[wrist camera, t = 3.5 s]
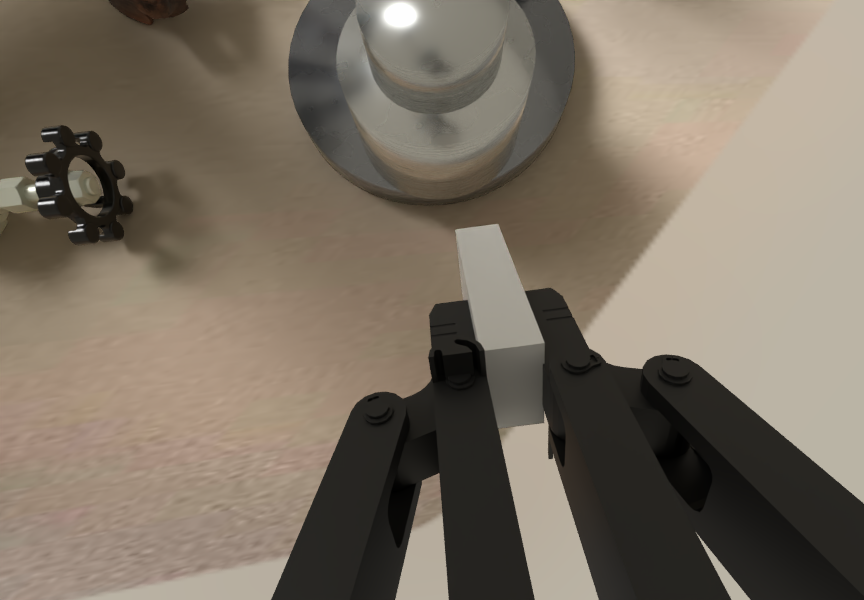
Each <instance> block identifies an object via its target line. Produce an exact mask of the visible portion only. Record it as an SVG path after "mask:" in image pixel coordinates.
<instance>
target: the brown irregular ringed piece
mask: <svg viewBox="0 0 864 600" xmlns="http://www.w3.org/2000/svg"><path fill="white" fill-rule="evenodd" d="M109 2H110V3H111V4H112V5H113V6H114V7H115V8H116V9H118V10H119V11H120V12H121V13H123V14H124V15H126V16H127V17H130V18H132V19H135V20H137V21H139V22H142V23H145V24H148V25H151V24H152V23H153V19H152V18H154V19H159V18H163V19H164V18H170V17H174V16H177V15H179V14H181V13H183V12H185V11H186V10H187V9H188V5H187V4H186V0H109Z"/></svg>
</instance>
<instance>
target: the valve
mask: <svg viewBox="0 0 864 600" xmlns="http://www.w3.org/2000/svg"><path fill="white" fill-rule="evenodd" d="M41 137H42V140H43V142H51V141H52V142H53V143H54V144H55V146H56V148H53V149H51V150H50V151H48V152H43V153H35V154H29V155H27V157H26V159H25V164H26V167H27V169H28V171H29V172H30V173H31V174H32V175H34V176H38V177H37V179H36V181H33V180H31V179H29V178H26V177H24V176H23V177H15V178H6V179H1V180H0V235H1V233H2V232H3V230H4V228H5V227H6V225H7V223H8V221H7V219H6V218H7V216H8V213H9V211H10V212H13V213H24V212H32V211H37V210H39V212H40V214H41V215H42V216H43V217H45V218H47V219H57V218H65V217H69V218H70V219H71V220H72V221H74V222H75V223H77V229H76V230H75V231H68V236H69V239H70V240H71V242H72V243H73V244H75V245H87V244H95V243H97V242H98V241H99V240H100V241H102V242H109V241H118V240H121V239H122V238H123V236H124V230H123V227H122V225H121V224H120V223H119V222H117V220H116V216H118V215H127V214H131V213H132V212H133V203H132V201H131V199H130V198H129V197H127V196H122V195H121V194H120V193H119V190H118V186H117V180H119V179H123V178H124V176H125V170H124V167H123V165H122V164H121V163H120V162H119V161H117V160H112V161H104V160H103V158H102V157H101V155H100V150H101V149H102V141H101V138H100V137H99V135H98V134H97V133H96V132H94V131H86V132H77V133H74V134H73V132H72V131H71V129H70V128H68V127H67V126H64V125H59V126H51V127H45V128H43V129H42V131H41ZM75 141H77V142H79V143H80V145H78V144H76V143H75ZM74 157H78V158H80V159H82V160H84V161H85V162H87V163H88V164H89V165H90V166H91V167H92V168H93V170H94V171H95V173H96V174H97V176H98V177H99V179H100V182H101V185H102V188H103V193H104V196H100V195H101V189H100V185H99V183H98V181H97V179H96V177H95V176H93V175H92V174H90V173H88V172H86V171H84V170H81V171H72V170H68V168H69V164H70V162H71V160H72V159H73V158H74ZM81 206H85V207H92V208H102V210H101V212H100V213H99V215H97V216H96V217H95V216H92V215H90V214H88V213H87V212H85V211H84V210H83V209H82V208H81ZM98 227H100V228H101V229H102V230H103V232H102V233H101V234H100V233H99V230H98Z"/></svg>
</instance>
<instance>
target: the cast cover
mask: <svg viewBox="0 0 864 600" xmlns="http://www.w3.org/2000/svg"><path fill="white" fill-rule="evenodd" d="M535 56H536V49H535V40H534V36H533V32H532V28H531V26H530V24H529V21H528V19H527V17H526V15H525V14H524V12H523V10H522V9H521V7H520V6H519V5H518V4H517V2H516V1H515V0H356V7H355V9H354V10H353V11H352V13H351V14H350V16H349V18H348V19H347V21H346V23H345V25H344V27H343V30H342V32H341V35H340V38H339V42H338V47H337V56H336V60H337V72H338V78H339V82H340V85H341V88H342V91H343V93H344V96H345V99H346V101H347V104H348V107H349V109H350V112H351V115H352V117H353V120H354V122H355V125H356V128H357V130H358V133H359V136H360V138H361V141H362V144H363V146H364V149H365V152H366V154H367V156H368V158H369V160H370V162H371V164H372V165H373V167H374V168H375V170H376V171H377V172H378V173H379V174H380V176H381V177H382V178H383V179H384V180H386V181H387V182H388V183H389V184H390V185H392V186H394V187H395V188H397V189H398V190H400V191H402V192H405V193H407V194H409V195H413V196H416V197H420V198H425V199H437V200H440V199H451V198H456V197H461V196H464V195H467V194H470V193H472V192H474V191H476V190H478V189H480V188H481V187H483V186H485V185H486V184H488V183H489V182H490V181H491V180H492V179H494V178H495V177H496V176H497V175H498V174H499V173H500V171H501V170H502V169H503V168H504V166H505V165H506V164H507V162H508V161H509V159H510V157H511V155H512V153H513V150H514V147H515V144H516V140H517V136H518V132H519V128H520V124H521V120H522V116H523V113H524V109H525V105H526V101H527V97H528V93H529V89H530V85H531V81H532V77H533V72H534V67H535Z"/></svg>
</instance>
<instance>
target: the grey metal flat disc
mask: <svg viewBox="0 0 864 600" xmlns="http://www.w3.org/2000/svg"><path fill="white" fill-rule="evenodd" d="M515 1H516V2H517V4H518V5H519V6H520V7H521V9H522V10H523V12H524V14H525V15H526V17H527V19H528V21H529V24H530V26H531V28H532V32H533V36H534V40H535V49H536V56H535V67H534V72H533V77H532V81H531V85H530V89H529V93H528V97H527V101H526V105H525V109H524V113H523V116H522V120H521V124H520V128H519V132H518V136H517V140H516V144H515V147H514V150H513V153H512V155H511V157H510V159H509V161H508V162H507V164H506V165H505V166H504V168H503V169H502V170H501V171H500V173H499V174H498V175H497V176H496V177H495V178H494V179H492V180H491V181H490V182H489V183H488V184H486V185H485V186H483V187H481V188H480V189H478V190H476V191H474V192H472V193H470V194H467V195H464V196H461V197H456V198H451V199H440V200H437V199H425V198H420V197H416V196H413V195H409V194H407V193H405V192H402V191H400V190H398V189H397V188H395V187H394V186H392V185H390V184H389V183H388V182H387V181H386V180H384V179H383V178H382V177H381V176H380V174H379V173H378V172H377V171H376V170H375V168H374V167H373V165H372V164H371V162H370V160H369V158H368V156H367V154H366V152H365V149H364V146H363V144H362V141H361V138H360V136H359V133H358V130H357V128H356V125H355V122H354V120H353V117H352V115H351V112H350V109H349V107H348V104H347V101H346V99H345V96H344V93H343V91H342V88H341V85H340V82H339V78H338V72H337V60H336V56H337V47H338V42H339V38H340V35H341V32H342V30H343V27H344V25H345V23H346V21H347V19H348V18H349V16H350V14H351V13H352V11H353V10H354V9H355V7H356V0H310V1H309V3H308V4H307V6H306V8H305V9H304V11H303V12H302V15H301V17H300V19H299V21H298V24H297V26H296V28H295V32H294V35H293V39H292V42H291V47H290V54H289V83H290V90H291V95H292V98H293V101H294V105H295V108H296V111H297V113H298V115H299V117H300V119H301V121H302V123H303V125H304V127H305V129H306V131H307V132H308V134H309V136H310V137H311V139H312V141H313V143H314V144H315V146H316V147H317V149H318V150H319V152H320V153H321V155H322V156H323V157H324V158H325V159H326V161H327V162H328V163H329V164H330V165H331V166H332V167H333V168H334V169H335V170H336V171H337V172H338V173H340V174H341V175H342V176H343V177H344V178H346V179H347V180H348V181H350V182H352V183H353V184H355V185H356V186H358V187H359V188H361V189H363V190H365V191H368V192H370V193H372V194H374V195H376V196H379V197H382V198H385V199H389V200H392V201H396V202H401V203H407V204H414V205H441V204H451V203H456V202H461V201H466V200H469V199H472V198H475V197H478V196H481V195H484V194H486V193H489V192H491V191H493V190H495V189H497V188H499V187H501V186H503V185H504V184H506V183H507V182H509V181H510V180H512V179H513V178H515V177H516V176H518V175H519V174H520V173H521V172H522V171H523V170H525V169H526V168H527V167H528V166H529V165H530V164H531V163H532V162H533V161H534V160H535V159H536V158H537V157H538V155H539V154H540V153H541V152H542V151H543V149H544V148H545V146H546V145H547V143H548V142H549V140H550V139H551V137H552V135H553V133H554V131H555V129H556V127H557V125H558V123H559V121H560V118H561V115H562V113H563V110H564V108H565V105H566V103H567V99H568V96H569V93H570V90H571V87H572V81H573V76H574V67H575V51H574V43H573V36H572V32H571V29H570V25H569V22H568V19H567V17H566V14H565V12H564V10H563V8H562V6H561V4H560V2H559V1H558V0H515Z"/></svg>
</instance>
